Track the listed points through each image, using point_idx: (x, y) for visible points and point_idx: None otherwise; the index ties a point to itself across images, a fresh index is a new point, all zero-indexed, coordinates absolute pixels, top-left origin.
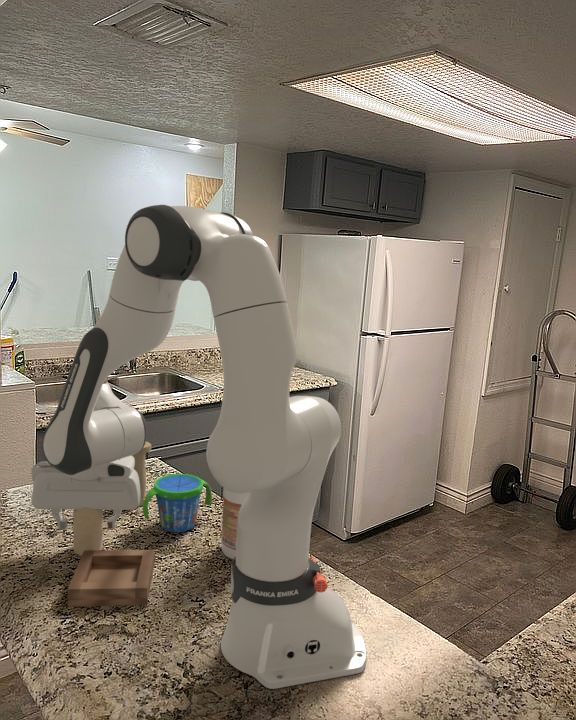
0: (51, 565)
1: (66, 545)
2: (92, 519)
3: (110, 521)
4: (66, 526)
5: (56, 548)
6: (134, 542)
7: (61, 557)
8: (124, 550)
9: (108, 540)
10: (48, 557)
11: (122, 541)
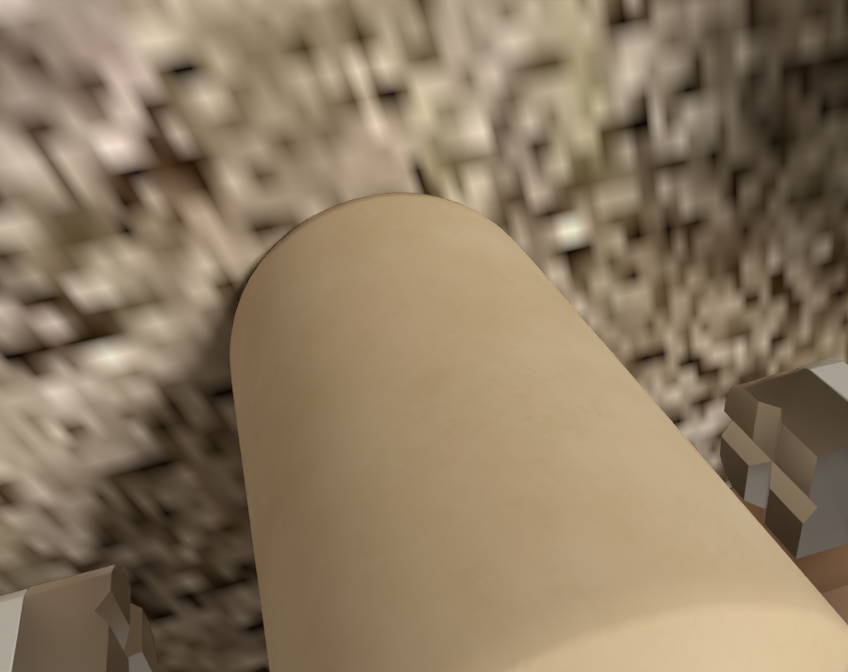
0: (171, 642)
1: (92, 320)
2: None
3: (838, 537)
4: (129, 599)
5: (14, 407)
6: (842, 89)
7: (186, 528)
8: (842, 589)
9: (557, 96)
10: (53, 563)
11: (717, 90)
